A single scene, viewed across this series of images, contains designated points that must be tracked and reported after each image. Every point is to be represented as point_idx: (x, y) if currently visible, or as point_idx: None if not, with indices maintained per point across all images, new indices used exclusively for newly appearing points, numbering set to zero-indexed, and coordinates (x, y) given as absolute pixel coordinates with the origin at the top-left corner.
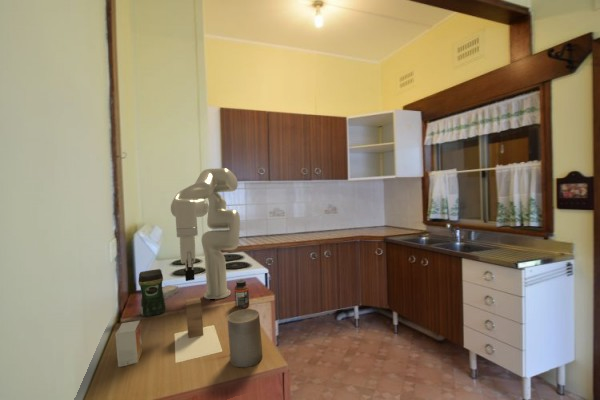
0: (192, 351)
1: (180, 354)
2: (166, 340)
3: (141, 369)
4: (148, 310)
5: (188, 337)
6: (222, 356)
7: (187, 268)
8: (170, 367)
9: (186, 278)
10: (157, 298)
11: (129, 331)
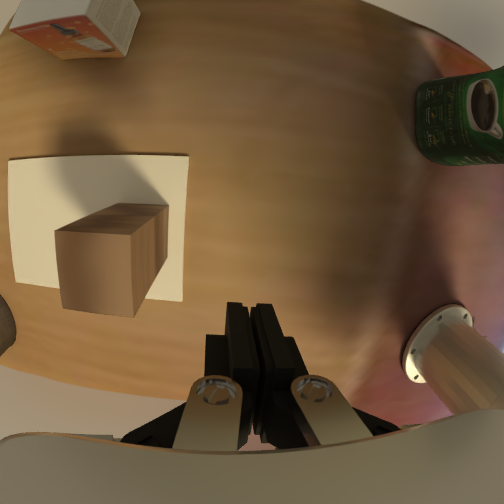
0: (36, 207)
1: (36, 172)
2: (156, 126)
3: (32, 76)
4: (427, 96)
5: (123, 203)
6: (5, 275)
7: (159, 417)
8: (5, 148)
9: (229, 318)
10: (455, 129)
11: (15, 13)
